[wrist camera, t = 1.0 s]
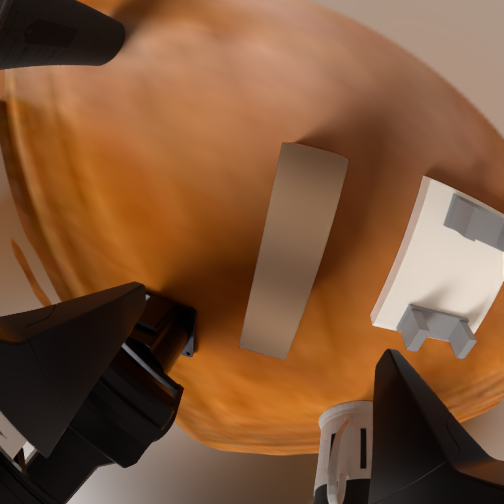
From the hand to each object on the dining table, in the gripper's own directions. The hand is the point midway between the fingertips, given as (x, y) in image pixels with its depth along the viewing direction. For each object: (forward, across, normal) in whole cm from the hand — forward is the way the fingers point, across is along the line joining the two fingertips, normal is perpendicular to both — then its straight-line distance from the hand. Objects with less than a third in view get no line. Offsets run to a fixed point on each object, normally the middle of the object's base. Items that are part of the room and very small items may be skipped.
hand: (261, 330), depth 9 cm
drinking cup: (+12, +20, -14) cm, 27 cm away
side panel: (+12, -14, 0) cm, 18 cm away
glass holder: (+12, -12, +19) cm, 26 cm away
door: (+12, 0, 0) cm, 12 cm away
